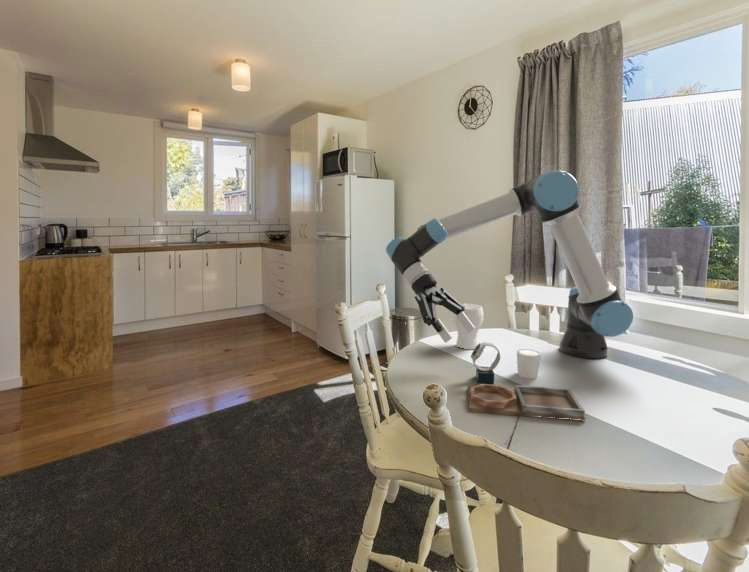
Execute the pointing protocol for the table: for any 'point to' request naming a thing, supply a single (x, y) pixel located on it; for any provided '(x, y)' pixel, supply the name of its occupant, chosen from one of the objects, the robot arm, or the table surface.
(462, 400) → the table surface
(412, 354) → the table surface
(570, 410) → the sorting board
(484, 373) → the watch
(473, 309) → the cup
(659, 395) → the table surface
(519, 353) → the white cylinder
